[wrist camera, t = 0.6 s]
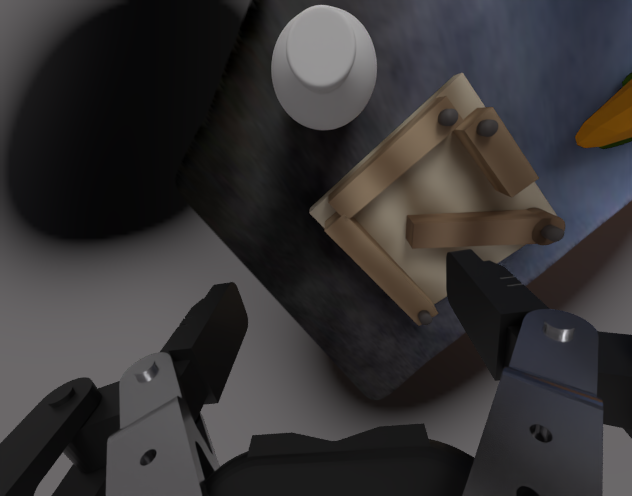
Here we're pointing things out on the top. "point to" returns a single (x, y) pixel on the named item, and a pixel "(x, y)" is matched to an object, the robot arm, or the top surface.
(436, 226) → the brown rectangular block
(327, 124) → the bath foam
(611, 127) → the corn
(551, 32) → the top surface
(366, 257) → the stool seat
